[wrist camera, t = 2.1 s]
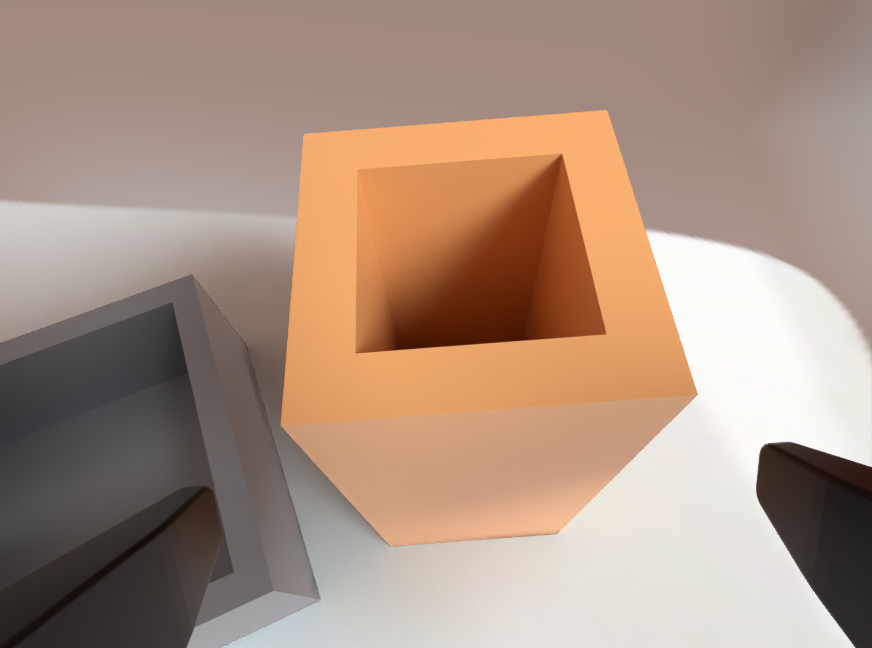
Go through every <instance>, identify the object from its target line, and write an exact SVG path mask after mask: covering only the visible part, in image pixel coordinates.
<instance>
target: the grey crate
mask: <svg viewBox="0 0 872 648" xmlns="http://www.w3.org/2000/svg"><path fill="white" fill-rule="evenodd" d="M200 485H207V486H209V487H210V488H212V490H213V492H214V496H215V500H216V505H217V510H218V514H219V519H220V523H221V529H222V539H221V544H220V547H219V551H218V554H217V557H216V560H215V564H214V567H213V570H212V573H211V577H210V580H209V583H208V587H207V590H206V593H205V596H204V600H203V603H202V606H201V609H200V613H199V616H198V619H197V622H196V625H195V628H194V631H193V633H192V636H191V638H190V641H189V643H188V646H187V648H220V647H222V646H224V645H227V644H229V643H231V642H233V641H235V640H237V639H239V638H241V637H243V636H246V635H248V634H250V633H252V632H254V631H256V630H258V629H260V628H262V627H265V626H267V625H269V624H271V623H273V622H275V621H277V620H279V619H281V618H283V617H286V616H288V615H290V614H292V613H294V612H296V611H298V610H300V609H302V608H305V607H307V606H309V605H311V604H313V603H315V602H317V601H319V600H321V598H320V595H319V592H318V588H317V585H316V581H315V578H314V575H313V571H312V568H311V564H310V561H309V558H308V554H307V551H306V547H305V544H304V541H303V537H302V534H301V531H300V527H299V524H298V520H297V517H296V514H295V510H294V507H293V503H292V500H291V497H290V493H289V490H288V486H287V483H286V480H285V476H284V473H283V469H282V466H281V463H280V459H279V456H278V452H277V449H276V446H275V442H274V439H273V436H272V432H271V429H270V425H269V422H268V419H267V415H266V412H265V408H264V405H263V402H262V398H261V395H260V391H259V388H258V385H257V381H256V378H255V374H254V371H253V368H252V364H251V361H250V357H249V354H248V351H247V347H246V344H245V342H244V341H243V340H242V339H241V337H240V336H239V335H238V333H237V332H236V331H235V329H234V328H233V327H232V326H231V324H230V323H229V322H228V320H227V319H226V318H225V316H224V315H223V314H222V313H221V311H220V310H219V309H218V307H217V306H216V305H215V303H214V302H213V301H212V300H211V298H210V297H209V296H208V294H207V293H206V292H205V290H204V289H203V288H202V287H201V285H200V284H199V283H198V281H197V280H196V279H195V277H194V276H193V275H189V276H187V277H184V278H181V279H178V280H175V281H173V282H170V283H167V284H164V285H162V286H159V287H156V288H153V289H150V290H148V291H145V292H142V293H139V294H136V295H134V296H131V297H128V298H125V299H123V300H120V301H117V302H114V303H111V304H109V305H106V306H103V307H100V308H97V309H95V310H92V311H89V312H86V313H84V314H81V315H78V316H75V317H72V318H70V319H67V320H64V321H61V322H58V323H56V324H53V325H50V326H47V327H45V328H42V329H39V330H36V331H33V332H31V333H28V334H25V335H22V336H20V337H17V338H14V339H11V340H8V341H6V342H3V343H0V590H1V589H2V588H4V587H6V586H8V585H10V584H11V583H13V582H15V581H17V580H18V579H20V578H22V577H24V576H26V575H27V574H29V573H31V572H33V571H35V570H36V569H38V568H40V567H42V566H44V565H45V564H47V563H49V562H51V561H52V560H54V559H56V558H58V557H60V556H61V555H63V554H65V553H67V552H69V551H70V550H72V549H74V548H76V547H77V546H79V545H81V544H83V543H85V542H86V541H88V540H90V539H92V538H94V537H95V536H97V535H99V534H101V533H102V532H104V531H106V530H108V529H110V528H111V527H113V526H115V525H117V524H119V523H120V522H122V521H124V520H126V519H127V518H129V517H131V516H133V515H135V514H136V513H138V512H140V511H142V510H144V509H145V508H147V507H149V506H151V505H152V504H154V503H156V502H158V501H160V500H161V499H163V498H165V497H167V496H169V495H170V494H172V493H174V492H176V491H177V490H179V489H181V488H183V487H187V486H200Z"/></svg>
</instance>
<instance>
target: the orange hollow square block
mask: <svg viewBox="0 0 872 648" xmlns="http://www.w3.org/2000/svg"><path fill="white" fill-rule="evenodd" d="M697 395H698V394H697V391H696V388H695V385H694V382H693V378H692V375H691V372H690V369H689V366H688V363H687V360H686V356H685V353H684V350H683V347H682V344H681V341H680V338H679V334H678V331H677V328H676V325H675V322H674V319H673V316H672V312H671V309H670V306H669V303H668V300H667V297H666V294H665V291H664V287H663V284H662V281H661V278H660V275H659V272H658V269H657V265H656V262H655V259H654V256H653V253H652V250H651V247H650V243H649V240H648V237H647V234H646V231H645V228H644V225H643V222H642V218H641V215H640V212H639V209H638V206H637V203H636V200H635V196H634V193H633V190H632V187H631V184H630V181H629V178H628V175H627V171H626V168H625V165H624V162H623V159H622V155H621V153H620V149H619V146H618V143H617V140H616V137H615V134H614V131H613V127H612V124H611V121H610V118H609V115H608V112H607V110H602V111H589V112H577V113H564V114H552V115H539V116H527V117H513V118H501V119H488V120H475V121H464V122H452V123H451V122H450V123H438V124H425V125H412V126H401V127H400V126H399V127H387V128H374V129H361V130H349V131H337V132H323V133H311V134H304V139H303V151H302V164H301V176H300V189H299V202H298V214H297V226H296V239H295V251H294V264H293V276H292V289H291V302H290V314H289V327H288V339H287V352H286V364H285V377H284V389H283V402H282V414H281V427H282V428H283V429H284V430H285V431H286V432H287V433H288V435H289V436H290V437H291V438H292V439H293V440H294V441H295V442H296V443H297V444H298V446H299V447H300V448H301V449H302V450H303V451H304V452H305V453H306V454H307V455H308V457H309V458H310V459H311V460H312V461H313V462H314V463H315V464H316V465H317V466H318V468H319V469H320V470H321V471H322V472H323V473H324V474H325V475H326V476H327V477H328V479H329V480H330V481H331V482H332V483H333V484H334V485H335V486H336V487H337V488H338V490H339V491H340V492H341V493H342V494H343V495H344V496H345V497H346V498H347V499H348V501H349V502H350V503H351V504H352V505H353V506H354V507H355V508H356V509H357V511H358V512H359V513H360V514H361V515H362V516H363V517H364V518H365V519H366V520H367V522H368V523H369V524H370V525H371V526H372V527H373V528H374V529H375V530H376V531H377V533H378V534H379V535H380V536H381V537H382V538H383V539H384V540H385V541H386V542H387V544H388V545H389V546H399V545H413V544H426V543H440V542H454V541H467V540H481V539H495V538H508V537H522V536H536V535H549V534H557V533H558V532H559V531H560V530H561V529H562V528H563V527H564V526H565V525H566V524H567V523H568V522H569V521H570V520H571V519H572V518H573V517H574V516H576V515H577V514H578V513H579V512H580V511H581V510H582V509H583V508H584V507H585V506H586V505H587V504H588V503H589V502H590V501H591V500H592V499H593V498H594V497H595V496H596V495H597V494H598V493H599V492H600V491H601V490H602V489H603V488H604V487H605V486H606V485H607V484H608V483H609V482H610V481H611V480H612V479H613V478H614V477H615V476H616V475H617V474H618V473H619V472H620V471H621V470H622V469H623V468H624V467H625V466H626V465H627V464H628V463H629V462H630V461H631V460H632V459H633V458H634V457H635V456H636V455H637V454H638V453H639V452H640V451H641V450H642V449H643V448H644V447H645V446H646V445H647V444H648V443H649V442H650V441H651V440H652V439H653V438H654V437H655V436H656V435H657V434H658V433H659V432H660V431H661V430H662V429H663V428H664V427H665V426H666V425H667V424H668V423H669V422H670V421H671V420H673V419H674V418H675V417H676V416H677V415H678V414H679V413H680V412H681V411H682V410H683V409H684V408H685V407H686V406H687V405H688V404H689V403H690V402H691V401H692V400H693V399H694V398H695V397H696V396H697Z"/></svg>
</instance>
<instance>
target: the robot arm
mask: <svg viewBox="0 0 872 648" xmlns="http://www.w3.org/2000/svg"><path fill="white" fill-rule="evenodd" d="M756 493H757V498H758V500H759V503H760V505H761V507H762V508H763V510H764V512H765V513H766V515H767V517H768V518H769V520H770V522H771V523H772V525H773V526H774V528H775V530H776V531H777V533H778V535H779V536H780V538H781V540H782V541H783V543H784V545H785V546H786V548H787V550H788V551H789V553H790V554H791V556H792V558H793V559H794V561H795V563H796V564H797V566H798V568H799V569H800V571H801V573H802V574H803V576H804V577H805V579H806V580H807V582H808V583H809V585H810V587H811V588H812V589H813V591H814V592H815V594H816V595H817V597H818V598H819V599H820V601H821V602H822V604H823V605H824V606H825V608H826V609H827V610H828V612H829V613H830V614H831V616H832V617H833V618H834V620H835V621H836V622H837V624H838V625H839V626H840V628H841V629H842V630H843V632H844V633H845V634H846V636H847V637H848V638H849V640H850V641H851V642H852V644H853V645H854V646H855V648H872V467H870V466H866V465H863V464H860V463H857V462H854V461H851V460H847V459H844V458H841V457H838V456H835V455H831V454H828V453H825V452H822V451H819V450H815V449H812V448H809V447H806V446H803V445H799V444H796V443H793V442H778V443H768V444H765V445H764V446H763V447H762V448H761V450H760V454H759V464H758V474H757V483H756ZM221 539H222V529H221V523H220V519H219V514H218V510H217V505H216V500H215V496H214V492H213V490H212V488H210V487H209V486H207V485H200V486H187V487H183V488H181V489H179V490H177V491H176V492H174V493H172V494H170V495H169V496H167V497H165V498H163V499H161V500H160V501H158V502H156V503H154V504H152V505H151V506H149V507H147V508H145V509H144V510H142V511H140V512H138V513H136V514H135V515H133V516H131V517H129V518H127V519H126V520H124V521H122V522H120V523H119V524H117V525H115V526H113V527H111V528H110V529H108V530H106V531H104V532H102V533H101V534H99V535H97V536H95V537H94V538H92V539H90V540H88V541H86V542H85V543H83V544H81V545H79V546H77V547H76V548H74V549H72V550H70V551H69V552H67V553H65V554H63V555H61V556H60V557H58V558H56V559H54V560H52V561H51V562H49V563H47V564H45V565H44V566H42V567H40V568H38V569H36V570H35V571H33V572H31V573H29V574H27V575H26V576H24V577H22V578H20V579H18V580H17V581H15V582H13V583H11V584H10V585H8V586H6V587H4V588H2V589H1V590H0V648H187V646H188V643H189V641H190V638H191V636H192V633H193V631H194V628H195V625H196V622H197V619H198V616H199V613H200V609H201V606H202V603H203V600H204V596H205V593H206V590H207V587H208V583H209V580H210V577H211V573H212V570H213V567H214V564H215V560H216V557H217V554H218V551H219V547H220V544H221Z"/></svg>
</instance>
